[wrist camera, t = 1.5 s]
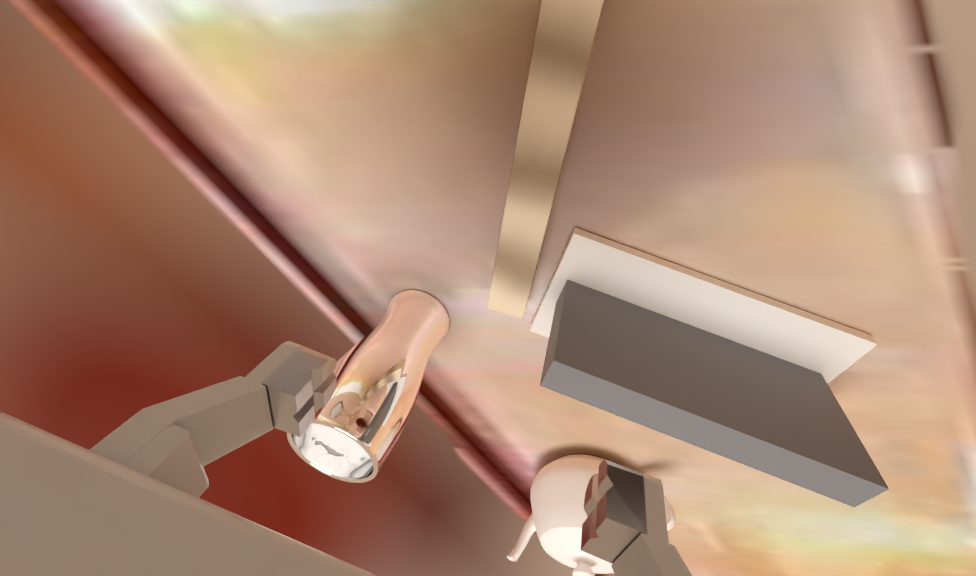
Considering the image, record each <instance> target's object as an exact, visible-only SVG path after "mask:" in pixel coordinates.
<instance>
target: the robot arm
mask: <svg viewBox="0 0 976 576" xmlns="http://www.w3.org/2000/svg"><path fill="white" fill-rule="evenodd" d="M335 368H336V359H333V358H331V357H329V356H326V355H323V354H321V353H319V352H316V351H313V350H311V349H309V348H306V347H304V346H301V345H299V344H296V343H293V342H291V341H287V342H285V343H283V344H281V345H280V346H279V347H278V348H277V349H276V350H275V351H274V352H272V353H271V354H270V355H269V356H268V357H267V358H266V359H265V360H264V361H262V362H261V363H260V364H259V365H258V366H257V367H256V368H255V369H254V370H252V371H251V372H250V373H249V374H248V375H247V376H246V377H245V378H244V377H241V376H239V377H236V378H233V379H230V380H227V381H224V382H221V383H218V384H215V385H212V386H209V387H206V388H203V389H200V390H197V391H195V392H191V393H188V394H186V395H183V396H180V397H177V398H174V399H171V400H168V401H165V402H162V403H159V404H156V405H153V406H150V407H147V408H144V409H142V410H141V411H139V412H138V413H136V414H135V415H134V416H133V417H131V418H130V419H129V420H127V421H126V422H125V423H124V424H122V425H121V426H120V427H118V428H117V429H116V430H114V431H113V432H112V433H111V434H109V435H108V436H107V437H105V438H104V439H103V440H102V441H100V442H99V443H98V444H96V445H95V446H94V447H92V448H91V449H90V450H87V449H85V448H83V447H80V446H78V445H76V444H74V443H71V442H69V441H67V440H64V439H62V438H60V437H57V436H55V435H53V434H50V433H48V432H46V431H44V430H41V429H39V428H36V427H34V426H32V425H30V424H27V423H25V422H23V421H20V420H18V419H16V418H14V417H11V416H9V415H7V414H4V413H2V412H0V576H376V575H374V574H372V573H369V572H367V571H365V570H363V569H360V568H358V567H356V566H353V565H351V564H349V563H347V562H344V561H342V560H340V559H337V558H335V557H333V556H331V555H328V554H326V553H324V552H321V551H319V550H317V549H314V548H312V547H310V546H308V545H305V544H303V543H301V542H298V541H296V540H294V539H291V538H289V537H287V536H285V535H282V534H280V533H277V532H275V531H273V530H271V529H269V528H266V527H264V526H262V525H259V524H257V523H255V522H252V521H250V520H248V519H245V518H243V517H241V516H239V515H236V514H234V513H232V512H229V511H227V510H225V509H223V508H220V507H218V506H216V505H213V504H211V503H209V502H207V501H204V500H202V499H200V498H199V497H200V495H201V494H202V493H203V492H204V491H205V490H206V489H207V488H208V485H209V480H208V478H207V475H206V473H205V470H204V468H203V466H205V465H207V464H209V463H211V462H212V461H214V460H216V459H218V458H220V457H222V456H224V455H226V454H228V453H229V452H231V451H233V450H235V449H237V448H239V447H241V446H242V445H244V444H246V443H248V442H250V441H252V440H254V439H256V438H258V437H259V436H261V435H263V434H265V433H267V432H269V431H271V430H273V427H274V428H277V429H280V430H282V431H285V432H288V433H290V434H293V435H296V436H298V437H301V436H302V434H303V433H304V432H305V431H306V429H307V428H308V427H309V426H310V424H311V423H312V422H313V421H314V419H315V411H316V410H319V409H321V408H323V407H325V406H326V404H327V403H328V402H329V400H330V399H331V397H332V395H333V393H334V391H335V388H336V384H337V377H336V376H335V374H334V373H333V371H334V369H335ZM584 510H585V512H586V514H587V516H588V517H587V519H586V520H585V522H584V523H583V524H582V538H581V550H582V551H584V552H586V553H589V554H591V555H593V556H595V557H598V558H600V559H602V560H605V561H607V562H609V563H612V565H611V566H612V569H613V571H614V574H615V576H692V575H691V573H690V571H689V570H688V568H687V566H686V564H685V563H684V561H683V559H682V558H681V556H680V554H679V553H678V551H677V549H676V548H675V546H673V545H671V544H669V540H668V531H667V521H666V512H665V502H664V493H663V484H662V482H661V480H660V479H657V478H655V477H652V476H649V475H646V474H643V473H640V471H637V470H634V469H631V468H628V467H626V466H623V465H620V464H617V463H614V462H612V461H609V460H606V459H605V460H603V461H602V462H601V464H600V465H599V473H597V474H593V476H592V477H591V479H590V481H589V483H588V486H587V489H586V493H585V499H584Z"/></svg>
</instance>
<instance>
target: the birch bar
mask: <svg viewBox="0 0 976 576" xmlns="http://www.w3.org/2000/svg"><path fill="white" fill-rule="evenodd" d="M603 4H604V0H542V1H541V7H540V13H539V18H538V24H537V30H536V35H535V41H534V47H533V52H532V58H531V63H530V69H529V75H528V80H527V86H526V92H525V97H524V103H523V109H522V114H521V120H520V125H519V131H518V137H517V142H516V148H515V154H514V159H513V165H512V171H511V176H510V182H509V187H508V193H507V199H506V204H505V210H504V216H503V221H502V227H501V233H500V238H499V244H498V249H497V255H496V261H495V266H494V272H493V278H492V283H491V289H490V295H489V300H488V306H487V309H488V310H492V311H496V312H499V313H503V314H506V315H510V316H514V317H517V318H521V319H523V317H524V314H525V310H526V307H527V303H528V300H529V296H530V292H531V288H532V284H533V280H534V276H535V272H536V269H537V265H538V261H539V257H540V253H541V249H542V245H543V241H544V237H545V233H546V229H547V225H548V221H549V217H550V213H551V209H552V205H553V202H554V198H555V194H556V190H557V186H558V182H559V178H560V174H561V170H562V166H563V162H564V158H565V154H566V150H567V146H568V142H569V138H570V135H571V131H572V127H573V123H574V119H575V115H576V111H577V107H578V103H579V99H580V95H581V91H582V87H583V83H584V79H585V75H586V71H587V68H588V64H589V60H590V56H591V52H592V48H593V44H594V40H595V36H596V32H597V28H598V24H599V20H600V16H601V12H602V8H603Z"/></svg>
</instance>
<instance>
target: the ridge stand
mask: <svg viewBox="0 0 976 576" xmlns="http://www.w3.org/2000/svg"><path fill="white" fill-rule="evenodd" d="M530 331H532V332H534V333H537V334H540V335H542V336H545V337H547V338H549V342H548V347H547V352H546V357H545V362H544V367H543V372H542V378H541V383H540V386H543V387H545V388H548V389H550V390H553V391H556V392H558V393H561V394H563V395H566V396H568V397H571V398H574V399H576V400H579V401H581V402H584V403H586V404H589V405H592V406H594V407H597V408H599V409H602V410H605V411H607V412H610V413H612V414H615V415H617V416H620V417H623V418H625V419H628V420H630V421H633V422H636V423H638V424H641V425H643V426H646V427H648V428H651V429H654V430H656V431H659V432H661V433H664V434H667V435H669V436H672V437H674V438H677V439H679V440H682V441H685V442H687V443H690V444H692V445H695V446H698V447H700V448H703V449H705V450H708V451H710V452H713V453H716V454H718V455H721V456H723V457H726V458H729V459H731V460H734V461H736V462H739V463H741V464H744V465H747V466H749V467H752V468H754V469H757V470H760V471H762V472H765V473H767V474H770V475H772V476H775V477H778V478H780V479H783V480H785V481H788V482H791V483H793V484H796V485H798V486H801V487H803V488H806V489H809V490H811V491H814V492H816V493H819V494H822V495H824V496H827V497H829V498H832V499H834V500H837V501H840V502H842V503H845V504H847V505H850V506H852V507H856V506H858V505H860V504H862V503H863V502H865V501H867V500H869V499H871V498H873V497H875V496H877V495H879V494H880V493H882V492H884V491H886V490H888V489H889V488H888V487H887V485H886V483H885V481H884V480H883V478H882V476H881V475H880V473H879V471H878V470H877V468H876V466H875V464H874V463H873V461H872V459H871V458H870V456H869V454H868V453H867V451H866V449H865V447H864V446H863V444H862V442H861V441H860V439H859V437H858V435H857V434H856V432H855V430H854V429H853V427H852V425H851V424H850V422H849V420H848V418H847V417H846V415H845V413H844V412H843V410H842V408H841V407H840V405H839V403H838V401H837V400H836V398H835V396H834V395H833V393H832V391H831V390H830V388H829V386H828V383H829V382H831V381H832V380H833V379H834V378H836V377H837V376H838V375H839V374H841V373H842V372H843V371H845V370H846V369H847V368H848V367H850V366H851V365H852V364H853V363H855V362H856V361H857V360H858V359H860V358H861V357H862V356H863V355H865V354H866V353H867V352H868V351H870V350H871V349H872V348H873V347H875V346H876V345H877V343H876V342H875V340H874V339H873V338H872V337H871V335H869V334H867V333H864V332H861V331H858V330H856V329H853V328H850V327H847V326H845V325H842V324H839V323H836V322H834V321H831V320H828V319H825V318H823V317H820V316H817V315H814V314H812V313H809V312H806V311H803V310H801V309H798V308H795V307H792V306H790V305H787V304H784V303H781V302H779V301H776V300H773V299H770V298H768V297H765V296H762V295H759V294H757V293H754V292H751V291H749V290H746V289H743V288H740V287H738V286H735V285H732V284H729V283H727V282H724V281H721V280H718V279H716V278H713V277H710V276H707V275H705V274H702V273H699V272H696V271H694V270H691V269H688V268H685V267H683V266H680V265H677V264H674V263H672V262H669V261H666V260H663V259H661V258H658V257H655V256H652V255H650V254H647V253H644V252H641V251H639V250H636V249H633V248H630V247H628V246H625V245H622V244H619V243H617V242H614V241H611V240H608V239H606V238H603V237H600V236H598V235H595V234H592V233H589V232H587V231H584V230H581V229H578V228H576V227H575V228H574V230H573V233H572V235H571V237H570V239H569V241H568V244H567V246H566V248H565V250H564V253H563V255H562V257H561V259H560V261H559V264H558V266H557V268H556V270H555V272H554V275H553V277H552V279H551V281H550V283H549V286H548V288H547V290H546V292H545V294H544V297H543V299H542V301H541V303H540V306H539V308H538V310H537V312H536V314H535V317H534V319H533V321H532V323H531V327H530Z"/></svg>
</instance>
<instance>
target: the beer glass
mask: <svg viewBox="0 0 976 576" xmlns="http://www.w3.org/2000/svg"><path fill="white" fill-rule="evenodd" d="M448 329H449V316H448V313H447V311H446V310H445V308H444V307H443V305H442V304H441V303H440V302H439V301H438V300H437V299H435V298H434V297H433V296H431V295H429V294H427V293H425V292H422V291H418V290H405V291H402V292H400V293H398V294H396V295H395V296H394V297H393V298H392V300H391V302H390V303H389V306H388V308H387V310H386V313H385V315H384V317H383V319H382V320H381V321H380V323H379V324H378V325H377V326H376V327H375V328H374V329H373V330H372V331H371V332H370V333H369V334H368V335H366V336H365V337H364V338H363V339H362V340H361V341H359V342H358V343H357V344H356V345H355V346H354V347H352V348H351V349H350V350H349V351H348V352H347V353H346V354H345V355H344V356H343V357H342V358H340V360H338V361H337V362H336V368H335V369H334V371H333V373H334V374H335V376H336V377H337V384H336V388H335V391H334V393H333V395H332V397H331V399H330V400H329V402H328V403H327V404H326V406H325V407H323V408H321V409H319V410H316V411H315V419H314V421H313V422H312V423H311V424H310V426H309V427H308V428H307V429H306V431H305V432H304V433H303V434H302V436H301V437H298V436H296V435H293V434H290V433H288V432H287V438H288V441H289V443H290V445H291V447H292V448H293V449H294V450H295V452H296V453H297V454H298V455H299V456H300V457H301V458H302V459H303V460H304V461H305V462H307V463H308V464H309V465H311V466H312V467H313V468H315V469H317V470H318V471H320V472H322V473H324V474H326V475H328V476H331V477H333V478H336V479H339V480H342V481H347V482H353V483H362V482H368V481H370V480H372V479H373V478H374V477H375V476H376V475H377V473H378V471H379V469H380V467H381V465H382V464H383V462H384V461H385V459H386V458H387V456H388V454H389V453H390V451H391V449H392V448H393V446H394V444H395V443H396V441H397V440H398V438H399V436H400V434H401V432H402V430H403V429H404V427H405V425H406V423H407V420H408V418H409V416H410V414H411V412H412V410H413V407H414V404H415V401H416V398H417V396H418V392H419V389H420V385H421V382H422V378H423V375H424V371H425V368H426V365H427V361H428V359H429V356H430V354H431V352H432V351H433V349H434V348H435V346H436V345H437V344H438V343H439V342H440V341H441V340H442V338H443V337H444V336H445V335H446V333H447V331H448Z"/></svg>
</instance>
